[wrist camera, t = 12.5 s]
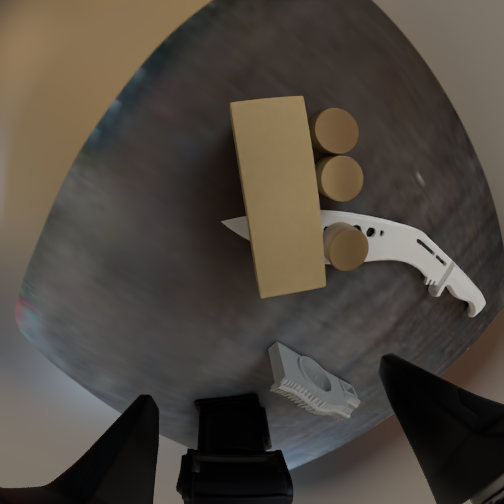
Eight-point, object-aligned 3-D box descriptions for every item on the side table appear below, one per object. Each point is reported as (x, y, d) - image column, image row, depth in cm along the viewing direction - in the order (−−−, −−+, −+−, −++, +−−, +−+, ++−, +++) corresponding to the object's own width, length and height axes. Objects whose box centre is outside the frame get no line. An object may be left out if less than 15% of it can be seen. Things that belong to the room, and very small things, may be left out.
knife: (217, 227, 18) (278, 123, 15) (219, 221, 19) (275, 126, 17) (452, 353, 24) (489, 300, 21) (445, 345, 25) (481, 294, 23)
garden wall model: (353, 383, 25) (372, 423, 20) (341, 392, 26) (358, 433, 20) (276, 336, 22) (289, 387, 16) (261, 349, 22) (270, 400, 17)
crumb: (309, 155, 17) (318, 155, 15) (302, 113, 16) (311, 108, 14) (349, 152, 17) (361, 152, 15) (342, 111, 16) (354, 107, 14)
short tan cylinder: (314, 199, 18) (323, 204, 16) (309, 157, 17) (318, 157, 15) (352, 194, 18) (365, 199, 17) (348, 154, 17) (361, 154, 15)
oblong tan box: (253, 268, 19) (260, 299, 14) (230, 122, 16) (229, 102, 11) (303, 259, 19) (326, 286, 14) (284, 116, 16) (303, 95, 11)
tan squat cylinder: (322, 264, 20) (331, 276, 18) (317, 226, 18) (326, 234, 17) (358, 255, 20) (370, 265, 18) (355, 218, 18) (367, 224, 17)
